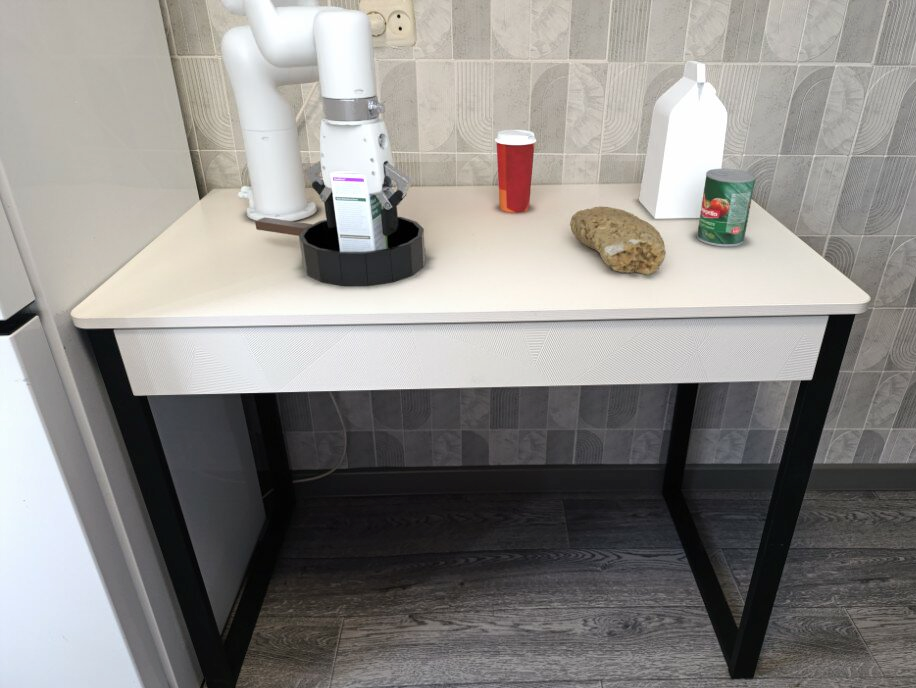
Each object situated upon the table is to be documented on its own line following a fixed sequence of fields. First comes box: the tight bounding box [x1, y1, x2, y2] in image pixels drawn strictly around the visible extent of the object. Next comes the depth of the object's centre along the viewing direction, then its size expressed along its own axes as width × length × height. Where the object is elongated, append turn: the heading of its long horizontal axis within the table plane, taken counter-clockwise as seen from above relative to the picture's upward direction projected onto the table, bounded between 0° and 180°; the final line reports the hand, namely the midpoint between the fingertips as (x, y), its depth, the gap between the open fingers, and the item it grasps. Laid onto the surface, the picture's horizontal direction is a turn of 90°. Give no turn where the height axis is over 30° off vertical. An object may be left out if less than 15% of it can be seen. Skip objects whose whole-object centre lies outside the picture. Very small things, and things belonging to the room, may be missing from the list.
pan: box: [254, 215, 426, 287], centre depth 108 cm, size 28×18×5 cm, turn 68°
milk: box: [638, 60, 728, 220], centre depth 128 cm, size 12×12×26 cm
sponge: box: [569, 206, 667, 276], centre depth 110 cm, size 13×8×20 cm
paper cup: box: [494, 129, 537, 214], centre depth 130 cm, size 8×8×14 cm
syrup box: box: [330, 171, 388, 252], centre depth 104 cm, size 6×6×14 cm
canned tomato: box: [696, 168, 757, 248], centre depth 116 cm, size 8×8×11 cm
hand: (362, 229), depth 105 cm, fingers open, 9 cm apart
